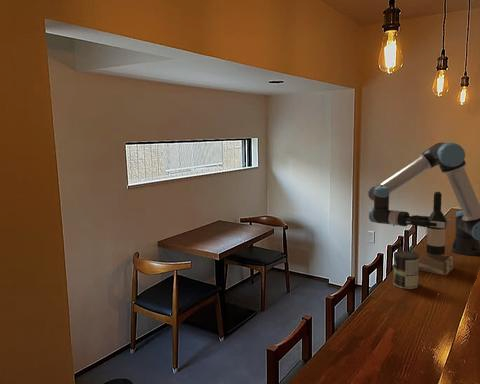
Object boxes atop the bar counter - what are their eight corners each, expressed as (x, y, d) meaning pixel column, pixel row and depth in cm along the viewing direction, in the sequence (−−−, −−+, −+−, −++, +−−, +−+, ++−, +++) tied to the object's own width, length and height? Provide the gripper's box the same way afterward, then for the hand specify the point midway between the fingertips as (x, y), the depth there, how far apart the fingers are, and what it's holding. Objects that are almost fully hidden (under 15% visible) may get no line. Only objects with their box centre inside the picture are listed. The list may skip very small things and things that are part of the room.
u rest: (427, 263, 203) (427, 252, 202) (453, 268, 194) (453, 256, 194) (418, 270, 194) (418, 258, 193) (445, 275, 185) (446, 262, 185)
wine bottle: (447, 255, 188) (450, 193, 184) (428, 254, 190) (430, 193, 186) (442, 250, 196) (444, 190, 192) (424, 249, 198) (426, 190, 194)
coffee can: (392, 287, 174) (392, 256, 172) (394, 279, 183) (394, 250, 181) (417, 290, 169) (418, 258, 167) (418, 282, 178) (419, 252, 176)
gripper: (406, 221, 211) (453, 227, 196) (391, 229, 196) (440, 235, 181) (407, 208, 210) (454, 212, 195) (391, 214, 195) (441, 219, 180)
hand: (447, 223), depth 188 cm, fingers closed on wine bottle, 8 cm apart
